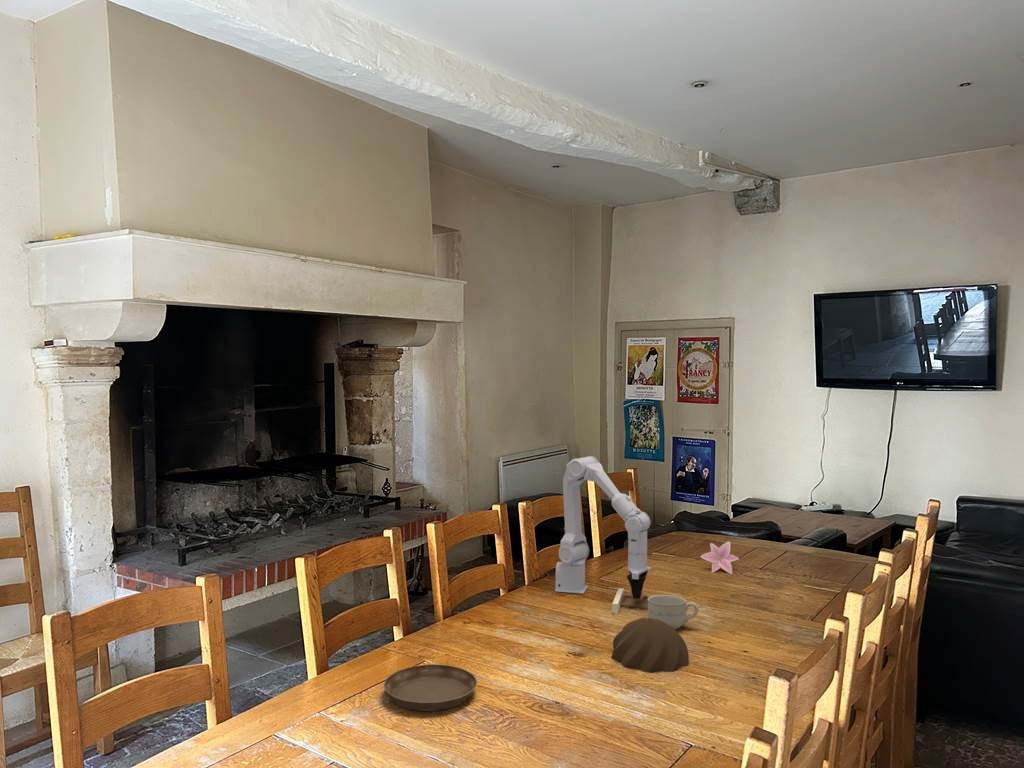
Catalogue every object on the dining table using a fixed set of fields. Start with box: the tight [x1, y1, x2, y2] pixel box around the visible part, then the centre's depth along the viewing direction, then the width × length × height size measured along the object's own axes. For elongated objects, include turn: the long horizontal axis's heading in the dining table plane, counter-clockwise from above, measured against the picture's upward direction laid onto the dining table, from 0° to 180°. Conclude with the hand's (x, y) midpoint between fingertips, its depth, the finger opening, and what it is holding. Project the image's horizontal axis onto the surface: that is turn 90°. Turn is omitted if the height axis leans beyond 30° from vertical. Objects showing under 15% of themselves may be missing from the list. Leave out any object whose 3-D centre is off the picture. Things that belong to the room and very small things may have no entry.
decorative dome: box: [610, 617, 690, 674], centre depth 188 cm, size 19×20×10 cm
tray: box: [620, 594, 650, 610], centre depth 230 cm, size 9×9×1 cm
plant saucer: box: [383, 664, 478, 712], centre depth 166 cm, size 21×21×3 cm
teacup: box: [647, 594, 699, 630], centre depth 209 cm, size 14×11×8 cm
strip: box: [611, 587, 625, 615], centre depth 228 cm, size 2×16×3 cm, turn 165°
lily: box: [700, 541, 740, 575], centre depth 268 cm, size 12×12×10 cm
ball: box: [630, 590, 645, 601], centre depth 230 cm, size 4×4×4 cm
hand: (637, 596), depth 230 cm, fingers closed on ball, 4 cm apart
